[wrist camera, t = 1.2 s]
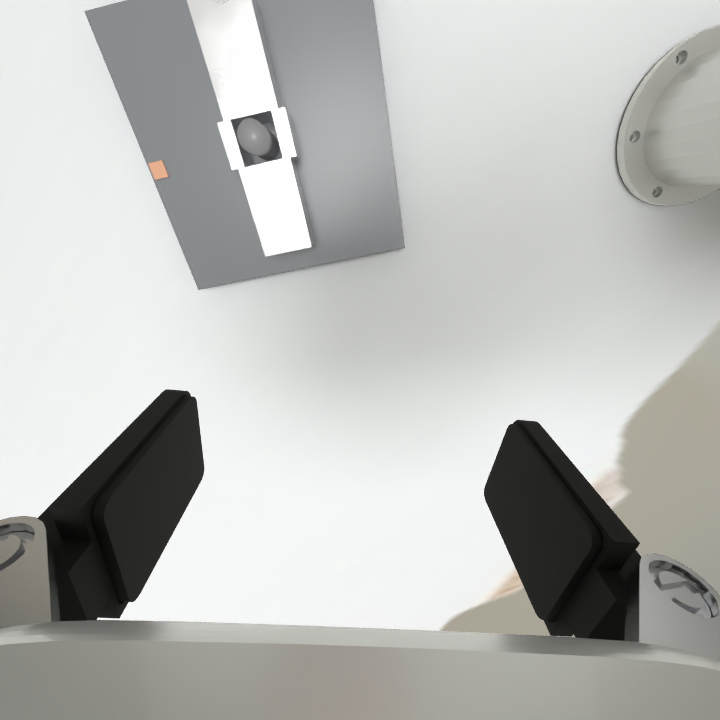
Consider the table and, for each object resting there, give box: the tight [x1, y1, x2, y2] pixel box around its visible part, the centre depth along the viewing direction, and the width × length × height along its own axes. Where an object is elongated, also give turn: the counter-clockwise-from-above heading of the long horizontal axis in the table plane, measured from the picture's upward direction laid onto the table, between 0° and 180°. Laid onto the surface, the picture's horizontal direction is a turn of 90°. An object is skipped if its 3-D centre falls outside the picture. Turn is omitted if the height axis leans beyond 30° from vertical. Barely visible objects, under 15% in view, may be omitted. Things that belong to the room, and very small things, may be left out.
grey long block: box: [187, 0, 315, 257], centre depth 25 cm, size 5×16×3 cm, turn 11°
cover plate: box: [85, 0, 405, 290], centre depth 26 cm, size 20×20×6 cm
